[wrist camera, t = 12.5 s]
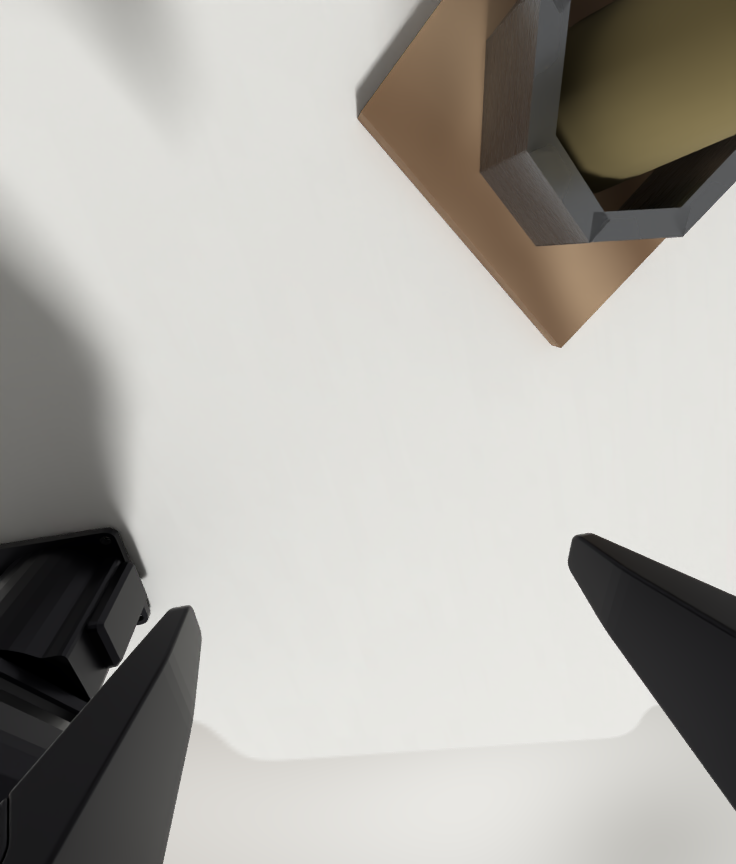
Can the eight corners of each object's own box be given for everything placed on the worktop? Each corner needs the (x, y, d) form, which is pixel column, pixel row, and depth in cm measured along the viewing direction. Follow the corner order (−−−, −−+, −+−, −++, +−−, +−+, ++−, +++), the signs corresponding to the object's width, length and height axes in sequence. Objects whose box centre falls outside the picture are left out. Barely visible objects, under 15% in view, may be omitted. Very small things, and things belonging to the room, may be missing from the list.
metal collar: (569, 290, 19) (625, 296, 16) (432, 110, 15) (471, 70, 12) (737, 108, 17) (839, 73, 14) (632, -153, 13) (742, -282, 10)
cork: (498, 93, 15) (898, -225, 5) (626, -29, 14) (1368, -661, 5) (562, 228, 18) (913, 184, 8) (674, 130, 17) (1218, -54, 7)
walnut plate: (551, 345, 21) (560, 347, 20) (357, 118, 15) (361, 111, 15) (769, 114, 18) (789, 108, 18) (631, -259, 13) (652, -290, 12)
